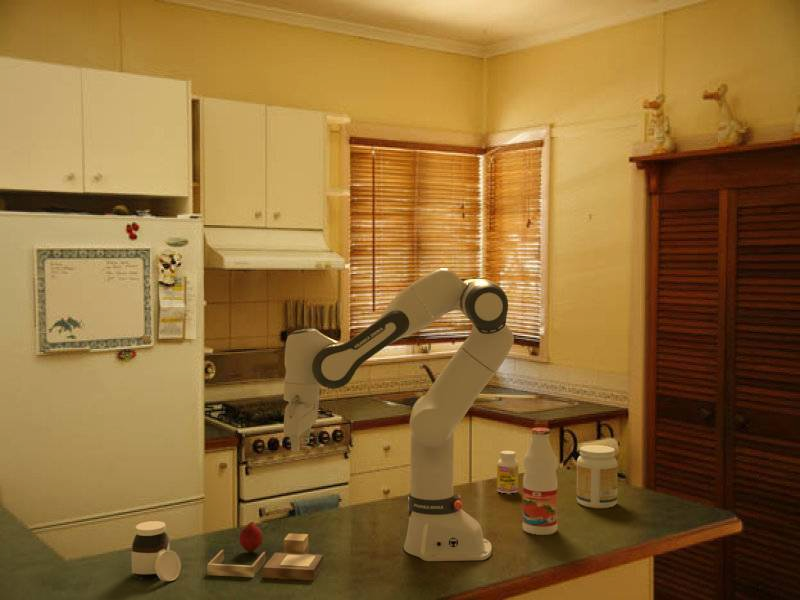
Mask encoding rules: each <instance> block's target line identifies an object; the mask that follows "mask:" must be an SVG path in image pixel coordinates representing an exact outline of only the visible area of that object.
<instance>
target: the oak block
mask: <svg viewBox="0 0 800 600" xmlns="http://www.w3.org/2000/svg"><path fill="white" fill-rule="evenodd" d="M283 553H295V554H309V534H308V533H288V534H287V535H286V537H284V539H283Z"/></svg>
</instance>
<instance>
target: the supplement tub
mask: <svg viewBox="0 0 800 600" xmlns="http://www.w3.org/2000/svg"><path fill="white" fill-rule="evenodd" d="M615 451H616V450H615V448H614V447H611V446H607V445H601V444H600V445H599V444H589V445H583V446H580V447H579V456H578V457H577V460H576V500H577V503H578V504H579V505H581V506H583V507H586V508H592V509H609V507H610V508H612V507H614V506H616V504H618V467H619V466H618V465H619V463H618V460H617V459H616V457H615V456H616V453H615Z"/></svg>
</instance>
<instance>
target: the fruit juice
mask: <svg viewBox="0 0 800 600" xmlns="http://www.w3.org/2000/svg"><path fill="white" fill-rule="evenodd" d="M550 434H551V430H550V429H549V428H547V427H533V428H531V436H532V438H531V441H530V443H529V447H528V449H527V451H526V453H525V455H524V457H523V467H524V469H525V470H524V474H523V478H522V529H523V532H526V533H528V534H531V535H535V534H536V535H535V536H547V535H548V536H549V535H553V534H554V533H556V532H557V530H558V487H559V486H558V477H557V474H556V470H557V467H558V458H557V455H556V454H555V452H554V450H553V447H552V444H551V441H550Z"/></svg>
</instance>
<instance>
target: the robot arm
mask: <svg viewBox="0 0 800 600" xmlns="http://www.w3.org/2000/svg"><path fill="white" fill-rule="evenodd" d="M453 311H460V312H461V313H463V315H464V316H465V318H467V319H468V320H469V321H470V322H471V324H472V327H471V330H470V333H469V334H468V337H467V338H466V339H465V340H464V341H463V343H462V344H461V346H460V347H459V348H458V349H457V351H455V352H454V355H452V357H451V359H449V361H448V362H447V364H446V365H445V366H444V368H443V369H442V370H441V371H440V373H439V375H438V376H437V378H436V379H435V381H433V383H432V385H430V388H429V389H428V390H427V392H426V393H425V394H424V395H422V396H421V397H420V398H418V399H417V400H416V401H415V402H414V405H413V407H412V410H411V413H410V418H409V424H408V425H409V430H410V433H411V434H410V437H411V438H410V439H411V440H410V463H409V464H410V466H409V468H410V471H409V473H410V476H409V480H410V481H409V483H410V484H409V487H410V490H409V493H408V498H407V512H408V517H409V518H408V527H407V533H406V537H405V542H404V545H403V550H404V551H405V552H406V553H407V554H409V555H411V556H414V557H417V558H419V559H421V560H423V561H425V562H451V561H453V562H454V561H455V562H456V561H458V562H460V561H461V562H463V561H484V560H487V559H488V558H490V556H491V555H492V552H493V550H492V549H493V547H492V543H491V542H490V541H489V540H488V539H486V538H484V534H483V530H482V527H481V524H480V523H479V522H478V521H477V520H476V519H475V518H474V517H472V516H471V515H470V514H468V513H467V512H466V511H465V510H463V509H462V507H463V502H462V498H461V495H460V494H458V495H457V494H456V493H454V437H455V436H454V433H455V430H456V429H457V427H458V426H459V424H460V423H461V422H462V420H463V419H464V417H465V416H466V415H467V413H468V411H469V410H470V408H471V407H472V405H473V403H474V402H475V401H476V400H477V397H479V395H480V393H482V391H483V390H484V388H485V387H486V386H487V384H488V383H489V382H490V380H491V379H492V378H493V376H494V375H495V374H496V373H497V371H498V370H499V368H501V367H502V364H503V363H504V361H505V360H506V358H507V356H508V354H509V353H510V351H511V349H512V348H513V344H514V342H515V337H514V334H513V332H512V330H511V328H510V327H509V326H508V325H507V317H508V311H509V299H508V297H507V294H506V292H505V291H504V289H502V288H501V287H500V286H499V285H498V283H496V282H494V281H492V280H490V279H486V278H484V277H470V278H461V277H460V276H459V275H458V274H457V273H456V272H455V271H454V270H451V269H450V268H446V267H444V268H443V267H442V268H439V269H436V270H434V271H432V272H430V273H428V274H426V275H423V276H422V277H420V278H419V279H417V280H415V281H414V282H412V283H411V284H410V285H407V287H405V288H404V289H403V290H401V291H400V292H399V293H398V294H396V295H395V296H394V297H393V298H392V300H391V301H390V302H389V303H388V304H387V306H386V307H385V309H384V311H383V312H382V313H381V314H380V316H379V317H378V318H377V319H376V320H375V321H374V322H373V323H372V324H371V325H370V326H368V327H366V328H365V329H364V330H362V331H361V332H359V333H357V335H355V336H354V337H352V338H350V339H349V340H348V341H346V342H342V341H338V340H335V339H332V338H330V337H329V336H326V335H325V334H323V333H322V332H321V331H320V330H318V329H316V328H302V329H297V330H295V331H292V332H291V333H290V334H288V336H287V337H286V338H287V339H286V341H285V348H284V349H285V350H284V367H285V375H284V376H285V377H284V378H283V401H286V402H288V404H287V405H285V408H284V416H283V417H284V418H283V436H284V437H288V438H289V441H290V445H291V446H290V447H291V448H290V449H291V452H292V453H298V452H300V449H301V448H300V447H301V445H300V443H301V444H302V445H308V444H309V442H310V434H311V431H312V426H313V425H314V424H315V423H317V420H318V416H319V405H320V404H319V403H320V397H321V396H322V387H321V386H323V388H327V389H333V390H336V389H341V388H343V387H344V386H346V385H347V384H348V383H349V382H350V381H351V380H352V378H353V377H354V375H355V373H356V371H357V370H358V368H359V367H361V365H362V364H364V363H365V362H367V361H369V359H370V358H372V357H373V356H374V355H377V353H379V352H380V351H382V350H383V349H384V348H386V347H388V346H389V345H390V344H392V343H394V342H396V341H398V340H400V339H403V338H406V337H407V336H410V335H413V334H415V333H417V332H419V331H421V330H424V329H425V328H427V327H428V326H430V325H432V324H434V322H435V321H438V320H439V319H441V318H442V317H443V316H444V315H445V314H446V315H447V314H448V313H450V312H453ZM300 435H301V437H300ZM300 440H301V441H300Z"/></svg>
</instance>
